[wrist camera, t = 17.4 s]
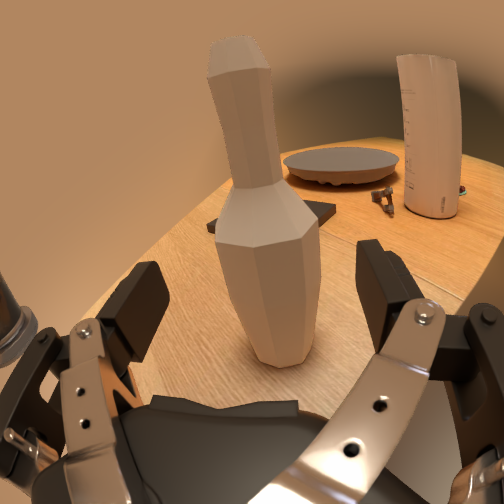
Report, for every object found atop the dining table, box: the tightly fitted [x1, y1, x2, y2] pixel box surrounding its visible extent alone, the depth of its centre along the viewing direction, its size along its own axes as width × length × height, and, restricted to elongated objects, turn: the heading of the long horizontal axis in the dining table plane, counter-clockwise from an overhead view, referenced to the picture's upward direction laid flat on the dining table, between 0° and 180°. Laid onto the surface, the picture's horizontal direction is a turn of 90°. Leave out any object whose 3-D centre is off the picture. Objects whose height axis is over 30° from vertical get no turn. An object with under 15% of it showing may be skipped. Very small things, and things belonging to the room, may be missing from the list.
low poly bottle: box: [207, 35, 321, 368], centre depth 17 cm, size 6×6×22 cm
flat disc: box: [283, 147, 399, 186], centre depth 61 cm, size 28×28×4 cm
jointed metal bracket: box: [371, 186, 394, 215], centre depth 41 cm, size 2×8×4 cm, turn 176°
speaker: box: [396, 54, 462, 219], centre depth 33 cm, size 11×10×26 cm
